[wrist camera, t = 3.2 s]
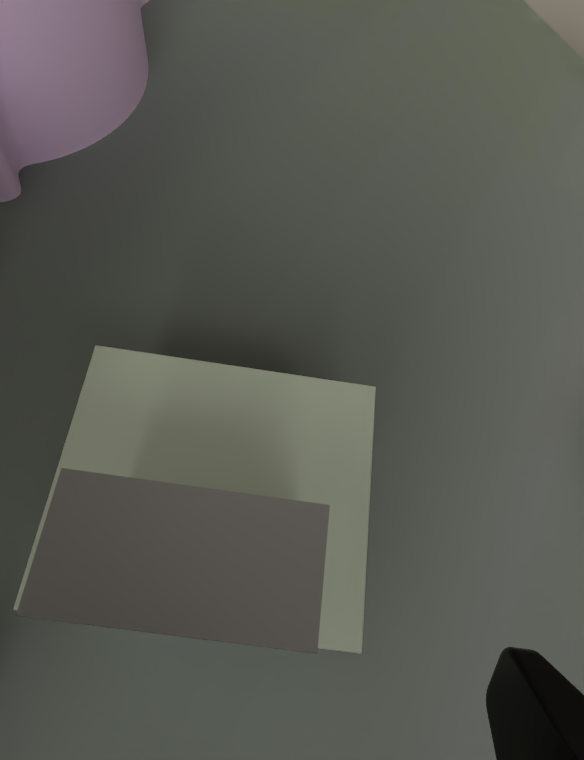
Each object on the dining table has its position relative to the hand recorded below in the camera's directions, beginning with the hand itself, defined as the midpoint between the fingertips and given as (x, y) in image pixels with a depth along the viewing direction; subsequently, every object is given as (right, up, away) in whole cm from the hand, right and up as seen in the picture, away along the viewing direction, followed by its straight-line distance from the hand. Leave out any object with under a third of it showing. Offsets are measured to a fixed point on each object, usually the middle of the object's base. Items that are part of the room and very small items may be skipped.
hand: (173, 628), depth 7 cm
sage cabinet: (-1, -1, +10) cm, 10 cm away
